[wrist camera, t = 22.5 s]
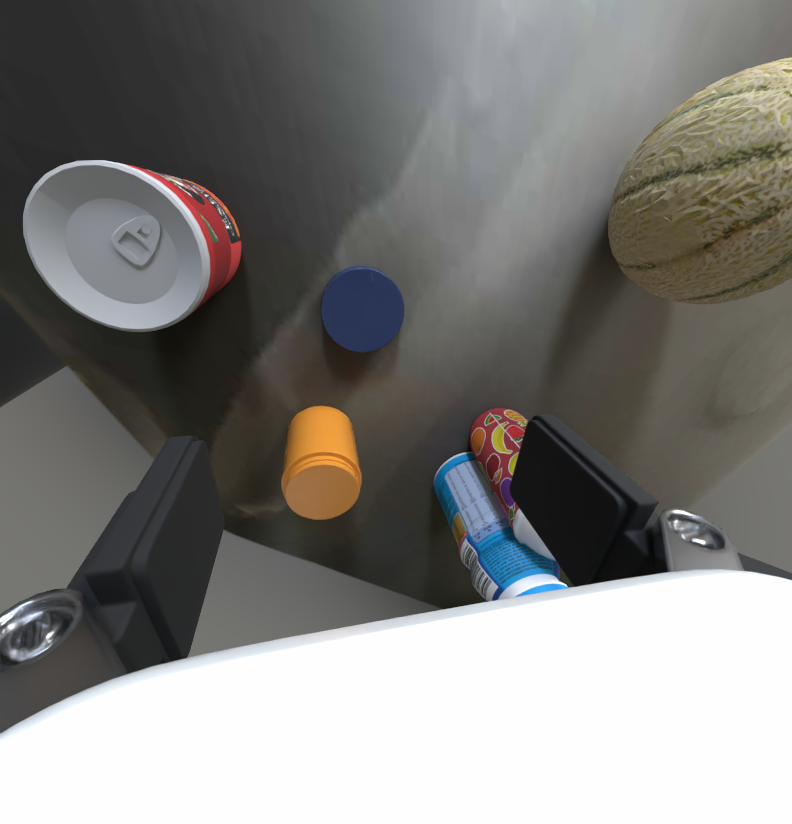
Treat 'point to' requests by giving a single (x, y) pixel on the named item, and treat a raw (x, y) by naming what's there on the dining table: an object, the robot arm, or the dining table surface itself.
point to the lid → (362, 309)
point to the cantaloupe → (712, 193)
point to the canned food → (129, 243)
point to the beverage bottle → (489, 535)
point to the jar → (321, 464)
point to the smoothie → (504, 467)
